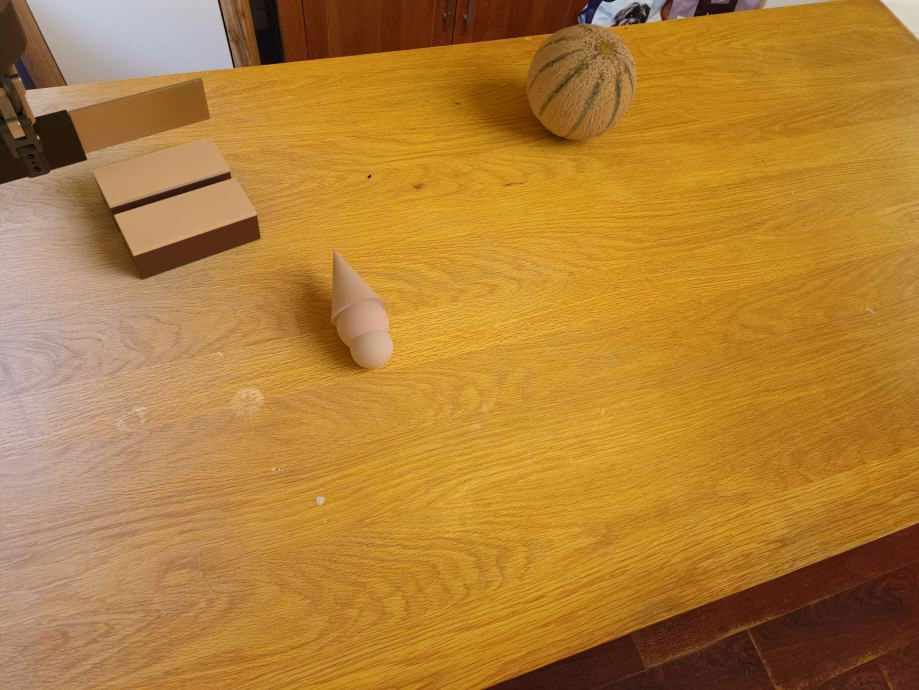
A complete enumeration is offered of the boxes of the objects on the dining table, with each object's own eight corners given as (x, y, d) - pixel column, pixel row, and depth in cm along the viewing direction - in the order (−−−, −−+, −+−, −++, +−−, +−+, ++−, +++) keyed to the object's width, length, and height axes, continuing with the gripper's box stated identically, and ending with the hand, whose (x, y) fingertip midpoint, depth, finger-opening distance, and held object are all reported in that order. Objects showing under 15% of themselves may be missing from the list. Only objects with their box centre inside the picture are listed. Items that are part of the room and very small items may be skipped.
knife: (-10, 187, 70) (-33, 147, 66) (-16, 171, 71) (-39, 130, 67) (214, 124, 78) (206, 85, 74) (205, 111, 79) (197, 71, 75)
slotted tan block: (142, 279, 82) (132, 253, 79) (102, 198, 88) (91, 169, 85) (261, 238, 88) (256, 212, 84) (215, 164, 94) (210, 136, 90)
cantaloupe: (533, 82, 111) (556, -14, 98) (627, 112, 109) (662, 18, 97) (504, 141, 102) (524, 44, 90) (605, 174, 101) (640, 81, 89)
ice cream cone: (338, 225, 79) (386, 347, 74) (369, 241, 84) (416, 356, 79) (295, 255, 81) (339, 376, 76) (328, 269, 86) (371, 382, 81)
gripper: (-117, -40, 59) (-24, 130, 74) (-80, 59, 54) (12, 224, 68) (-16, -57, 62) (54, 110, 77) (29, 36, 56) (96, 198, 71)
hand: (34, 163), depth 72 cm, fingers closed on knife, 2 cm apart
